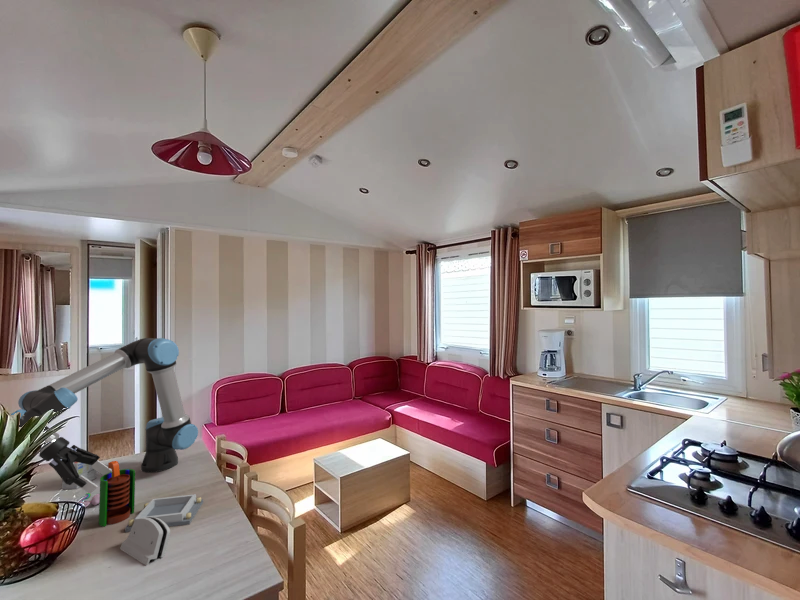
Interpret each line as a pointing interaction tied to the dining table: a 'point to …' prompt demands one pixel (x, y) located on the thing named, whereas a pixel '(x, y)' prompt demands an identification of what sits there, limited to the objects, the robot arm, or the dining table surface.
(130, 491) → the motor
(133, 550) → the grey arched block
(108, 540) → the dining table surface
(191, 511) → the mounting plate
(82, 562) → the dining table surface
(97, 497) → the rabbit figure
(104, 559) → the dining table surface
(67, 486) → the light bulb box
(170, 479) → the dining table surface
